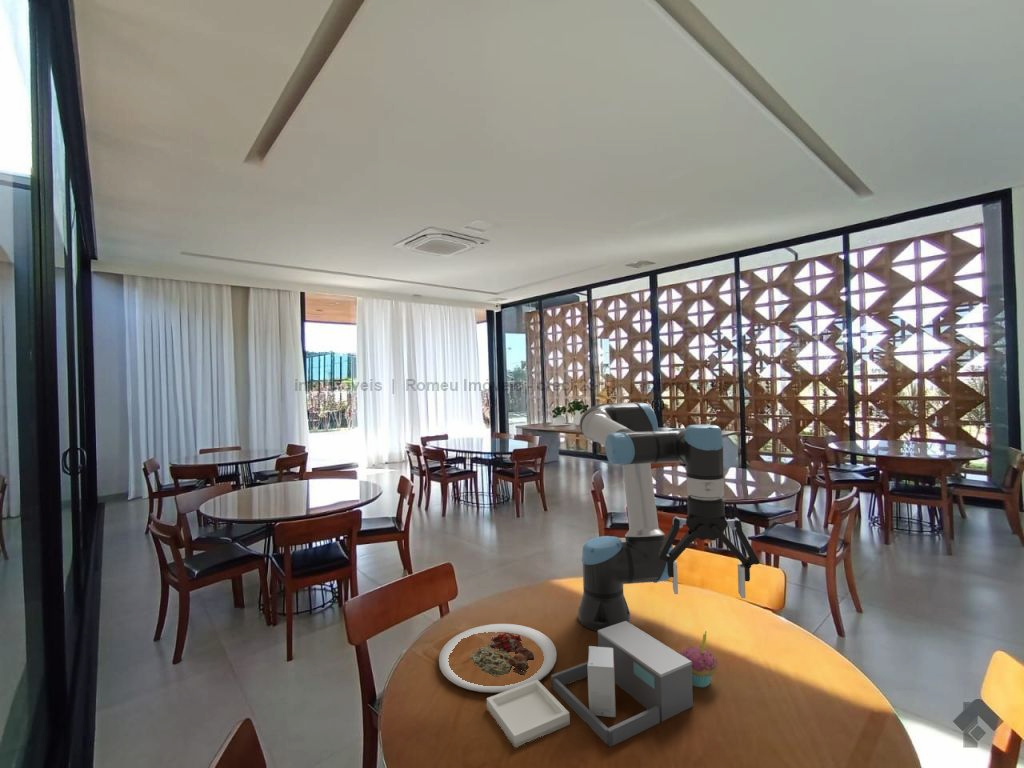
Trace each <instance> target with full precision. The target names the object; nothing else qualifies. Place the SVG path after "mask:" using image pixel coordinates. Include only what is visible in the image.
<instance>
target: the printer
mask: <svg viewBox="0 0 1024 768" xmlns="http://www.w3.org/2000/svg"><path fill="white" fill-rule="evenodd" d="M597 647H608V648H613V651H614V671H615V685H617V686H619V687H618V688H621V689H622V690H623V691H624V692H625V693H627V694H628V695H629V696H631V697H632V699H634V700H635V701H636V702H638V703H639V704H640V705H641V706H643V707H644V708H645V709H646V710H644V711H642V712H640V713H638V714H636V715H633V716H631V717H629V718H627V719H625V720H623V721H621V722H618V723H616V724H615V725H612V726H609V727H607V725H606V724H604V723H603V721H601V719H599V718H598V716H595V715H594V714H593V713H592V712H591V711H590V710H589V707H587V706H586V705H585V704H584V703H582V701H581V700H580V699H578V698H577V697H576V695H574V694H573V693H572V692H571V691H570V690H569V689H568V688H567V687H566V686H567V685H566V684H568V683H570V682H573V681H575V682H577V681H576V680H578V679H580V680H582V679H581V678H583V679H585V678H584V677H586V678H588V677H587V676H588V668H587V665H588V661H585V662H582V663H579V664H577V665H575V666H572V667H570V668H567V669H564V670H562V671H559V672H556V673H553V674H551V675H550V676H551V677H550V679H551V689H552V688H553V689H554V690H555V691H556V692H557V693H558V694H559V695H560V696H561V697H562V698H561V697H560V696H559V695H558V694H557V693H556V692H555V691H554V690H553V689H552V690H553V691H554V692H555V693H556V694H557V695H558V696H559V697H560V698H561V699H562V700H563V702H564V703H566V704H567V705H568V707H569V708H570V709H571V710H573V712H574V713H576V715H577V716H578V717H579V718H580V719H581V720H582V721H583V722H584V723H585V722H586V723H587V724H588V725H589V726H590V727H591V728H590V727H589V728H590V729H591V731H594V733H595V734H596V735H597V736H598V737H599V738H600V739H601V740H602V741H603V742H604V743H605V744H606V745H607V746H608V747H609V748H611V747H613V746H615V745H617V744H619V743H622V742H623V741H625V740H627V739H630V738H631V737H635V736H636V735H638V734H640V733H642V732H644V731H646V730H648V729H650V728H652V727H654V726H657V724H660V723H661V722H664V721H666V720H668V719H670V718H672V717H674V716H676V715H679V714H680V713H682V712H684V711H686V710H688V709H690V708H693V707H694V699H693V698H694V697H693V694H694V693H693V685H692V661H690V660H688V659H687V658H685V657H684V656H682V655H680V654H679V653H680V652H676V651H675V650H674V649H672V648H671V647H669V646H668V645H665V644H664V643H663V642H661V641H660V640H658V639H656V638H655V637H653V636H651V635H650V634H648V633H646V631H643V630H642V629H640V628H638V627H637V626H635V625H634V624H632V623H631V622H630V623H629V622H627V621H624V622H621V623H618V624H615V625H612V626H609V627H606V628H603V629H600V630H598V631H597ZM578 681H579V680H578ZM573 683H574V682H573ZM570 684H571V683H570ZM564 685H565V686H564ZM568 685H569V684H568ZM586 723H585V724H586ZM587 724H586V725H587ZM588 725H587V726H588Z"/></svg>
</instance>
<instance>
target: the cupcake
mask: <svg viewBox="0 0 1024 768" xmlns="http://www.w3.org/2000/svg"><path fill="white" fill-rule="evenodd" d="M706 640H707V630H705V632H704V633H703V634H702V641H701V647H696V646H695V647H693V646H690V647H686V648H683V649H682V651H680V652H678V653H679V654H680V655H682V656H684V657H685V658H687V659H688V660H690V661H692V686H694V687H696V688H697V687H698V688H706V687H708V686H709V685H710V683H711V680H712V676H714V675H715V674H716V672H717V671H718V659H717V658H716V657H715V655H713V654H712V653H711V652H709V651H708V650H707V649H705V648H706V642H707V641H706Z"/></svg>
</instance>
